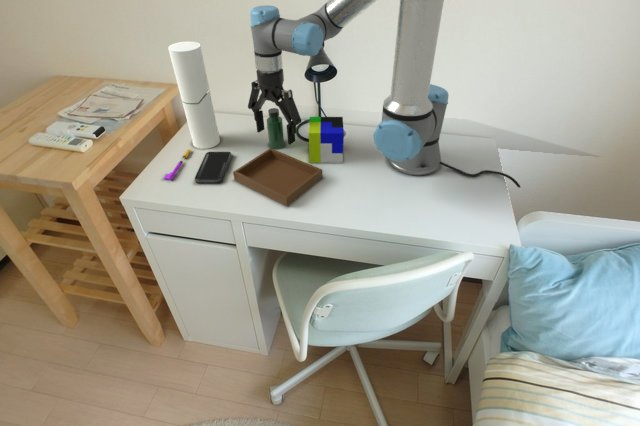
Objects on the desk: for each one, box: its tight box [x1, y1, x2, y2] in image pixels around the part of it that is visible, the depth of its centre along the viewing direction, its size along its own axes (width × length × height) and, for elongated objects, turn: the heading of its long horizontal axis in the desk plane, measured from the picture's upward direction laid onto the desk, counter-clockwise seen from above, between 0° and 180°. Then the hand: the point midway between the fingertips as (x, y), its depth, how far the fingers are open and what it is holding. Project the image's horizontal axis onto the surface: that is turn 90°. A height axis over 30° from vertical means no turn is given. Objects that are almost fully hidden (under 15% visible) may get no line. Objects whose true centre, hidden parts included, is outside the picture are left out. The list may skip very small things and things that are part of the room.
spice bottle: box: [266, 107, 285, 150], centre depth 118 cm, size 5×5×12 cm
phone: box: [194, 151, 233, 185], centre depth 111 cm, size 8×1×15 cm
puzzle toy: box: [308, 116, 345, 164], centre depth 114 cm, size 10×10×10 cm
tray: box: [232, 147, 323, 208], centre depth 107 cm, size 20×16×3 cm
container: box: [167, 41, 221, 150], centre depth 114 cm, size 9×9×30 cm
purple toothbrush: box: [163, 148, 192, 181], centre depth 113 cm, size 3×1×16 cm
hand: (275, 136), depth 120 cm, fingers open, 12 cm apart
